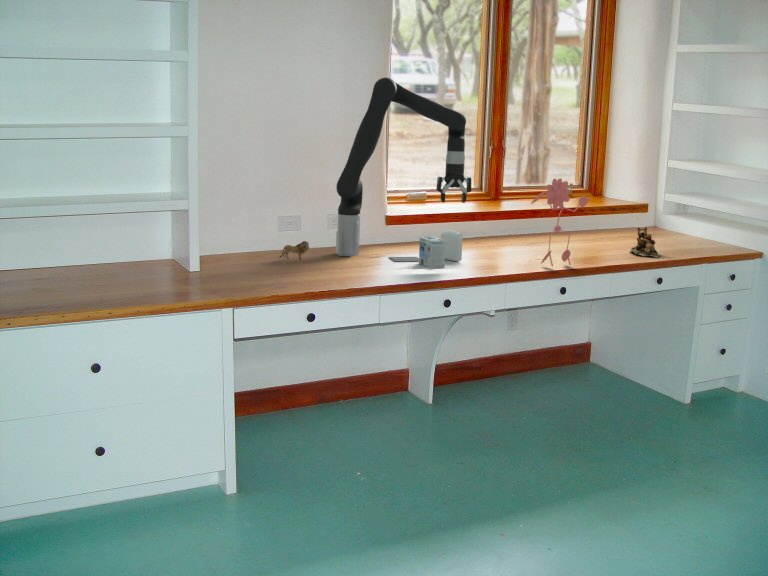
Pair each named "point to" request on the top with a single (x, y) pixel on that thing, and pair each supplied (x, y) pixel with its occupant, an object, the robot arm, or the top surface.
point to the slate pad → (404, 259)
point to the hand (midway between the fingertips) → (453, 202)
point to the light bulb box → (432, 252)
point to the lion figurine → (296, 249)
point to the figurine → (557, 197)
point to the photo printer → (452, 245)
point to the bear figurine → (645, 244)
